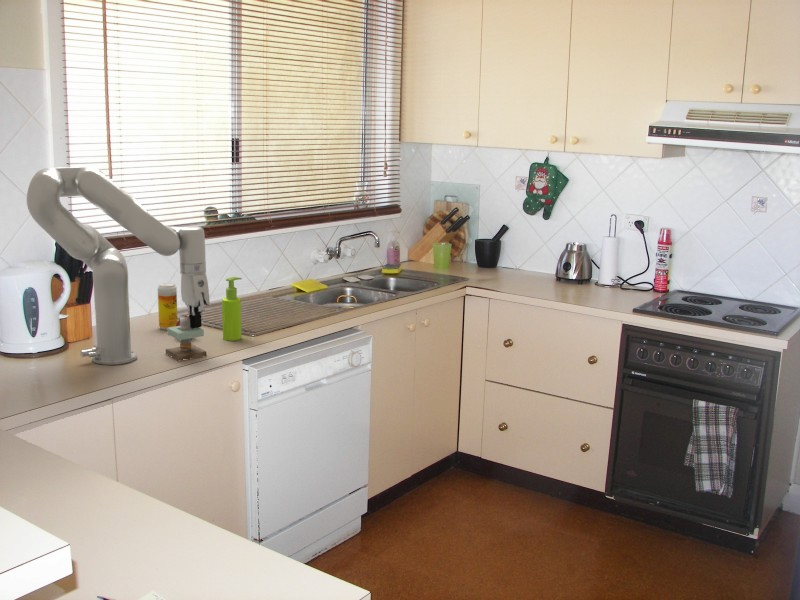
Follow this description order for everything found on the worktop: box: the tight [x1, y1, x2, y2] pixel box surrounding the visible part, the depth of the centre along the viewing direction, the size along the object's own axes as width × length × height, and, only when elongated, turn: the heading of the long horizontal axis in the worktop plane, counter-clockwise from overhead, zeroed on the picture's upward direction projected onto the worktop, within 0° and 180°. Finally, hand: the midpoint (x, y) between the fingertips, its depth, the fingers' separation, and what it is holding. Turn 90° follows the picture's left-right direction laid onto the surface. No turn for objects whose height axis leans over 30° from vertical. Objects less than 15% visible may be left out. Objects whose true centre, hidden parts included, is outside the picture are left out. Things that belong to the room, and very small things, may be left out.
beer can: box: [157, 282, 179, 331], centre depth 291 cm, size 6×6×15 cm
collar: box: [166, 326, 205, 341], centre depth 262 cm, size 8×8×2 cm
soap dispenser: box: [221, 276, 243, 341], centre depth 281 cm, size 6×7×20 cm
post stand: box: [165, 316, 208, 361], centre depth 262 cm, size 9×9×12 cm
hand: (195, 327), depth 263 cm, fingers closed
